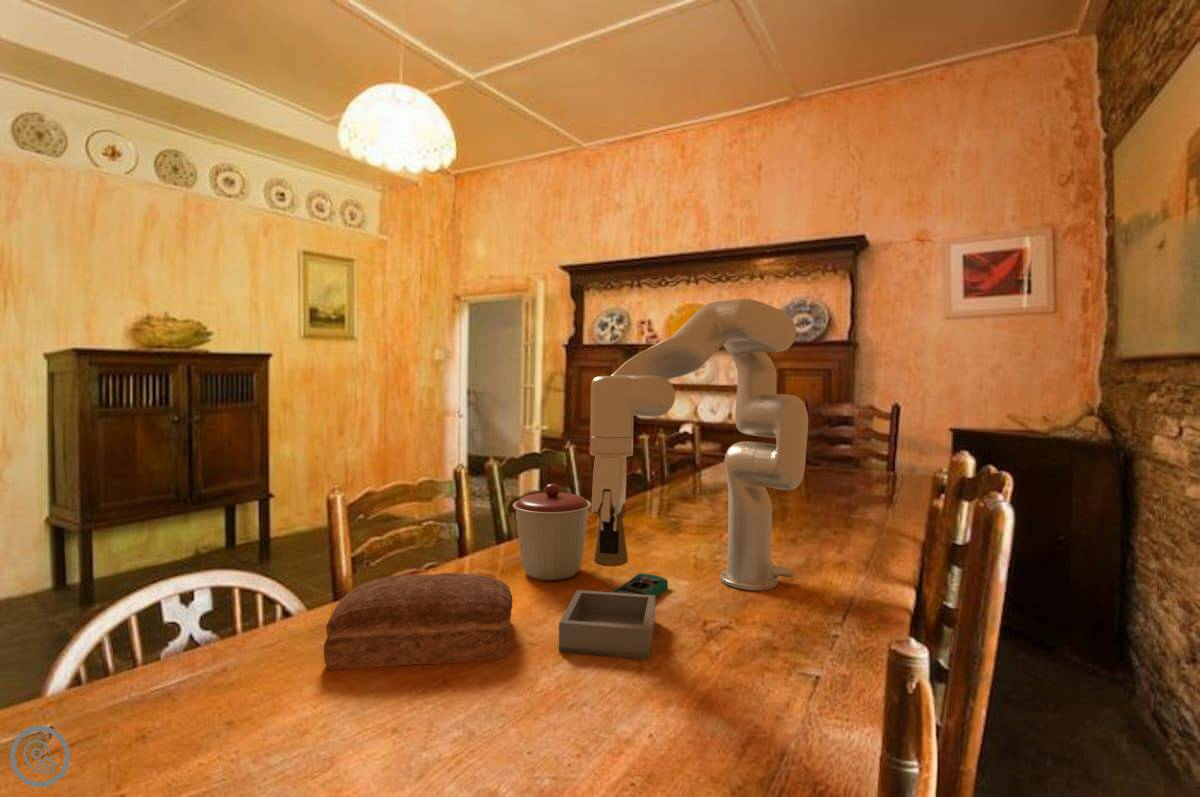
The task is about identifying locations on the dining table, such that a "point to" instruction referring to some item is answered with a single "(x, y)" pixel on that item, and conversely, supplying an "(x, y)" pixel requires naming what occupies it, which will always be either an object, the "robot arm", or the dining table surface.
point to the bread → (420, 621)
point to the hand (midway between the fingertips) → (610, 549)
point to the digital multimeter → (644, 585)
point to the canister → (551, 533)
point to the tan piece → (622, 551)
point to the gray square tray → (608, 625)
